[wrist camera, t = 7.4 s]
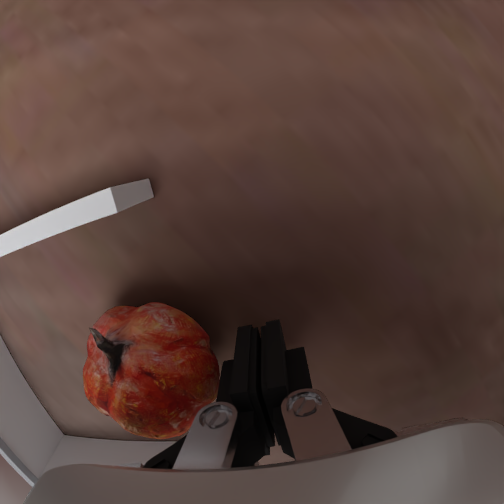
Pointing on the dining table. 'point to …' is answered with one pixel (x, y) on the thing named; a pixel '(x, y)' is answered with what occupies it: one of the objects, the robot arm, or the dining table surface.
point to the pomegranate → (150, 369)
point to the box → (17, 389)
